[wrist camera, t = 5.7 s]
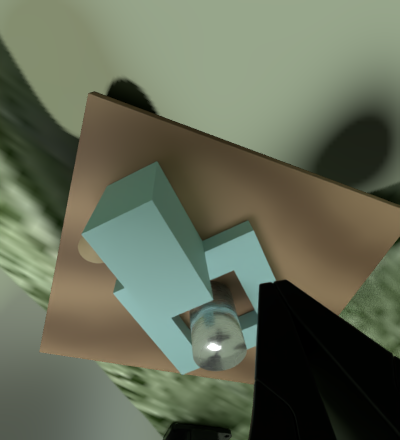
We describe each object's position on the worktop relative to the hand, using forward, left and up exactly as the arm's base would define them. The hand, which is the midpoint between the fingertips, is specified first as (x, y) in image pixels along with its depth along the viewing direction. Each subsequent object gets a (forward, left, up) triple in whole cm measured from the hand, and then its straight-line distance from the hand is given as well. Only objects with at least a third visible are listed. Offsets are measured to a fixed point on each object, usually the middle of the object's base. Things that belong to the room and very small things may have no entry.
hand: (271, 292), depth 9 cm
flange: (-6, 0, -8) cm, 10 cm away
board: (-7, -2, -9) cm, 12 cm away
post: (-8, -2, -8) cm, 11 cm away
